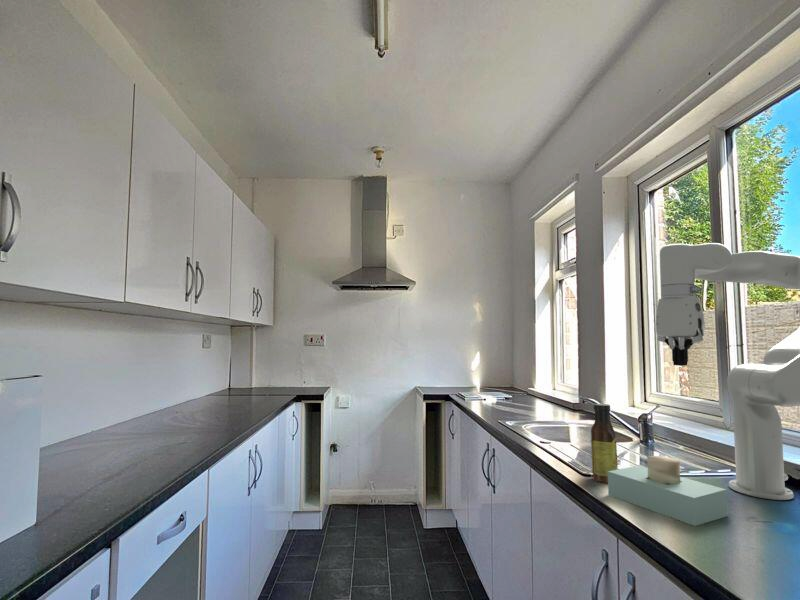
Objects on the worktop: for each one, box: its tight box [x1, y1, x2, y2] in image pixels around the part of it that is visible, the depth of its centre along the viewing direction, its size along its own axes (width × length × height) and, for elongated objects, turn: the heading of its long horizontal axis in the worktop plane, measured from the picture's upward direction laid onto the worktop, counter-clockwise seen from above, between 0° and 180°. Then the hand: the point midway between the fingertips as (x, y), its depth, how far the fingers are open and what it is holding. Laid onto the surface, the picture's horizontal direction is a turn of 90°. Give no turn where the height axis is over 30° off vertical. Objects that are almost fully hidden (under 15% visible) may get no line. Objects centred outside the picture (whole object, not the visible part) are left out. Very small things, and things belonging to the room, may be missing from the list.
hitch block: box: [607, 465, 729, 527], centre depth 103 cm, size 12×20×6 cm, turn 28°
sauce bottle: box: [590, 403, 619, 484], centre depth 121 cm, size 6×6×20 cm
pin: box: [646, 455, 681, 485], centre depth 103 cm, size 6×6×10 cm
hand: (680, 365), depth 114 cm, fingers closed
